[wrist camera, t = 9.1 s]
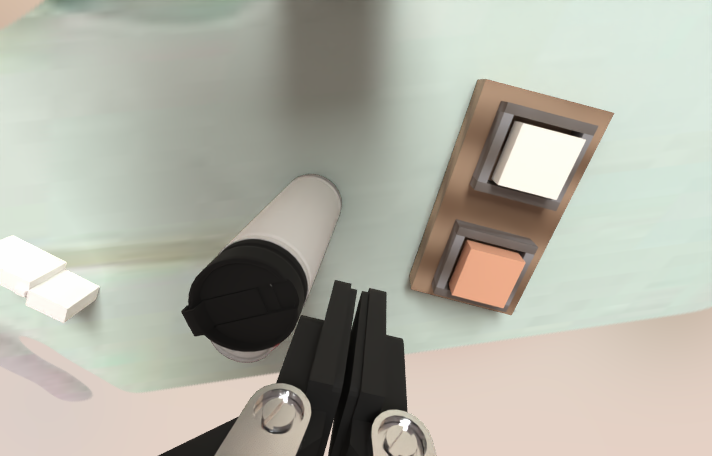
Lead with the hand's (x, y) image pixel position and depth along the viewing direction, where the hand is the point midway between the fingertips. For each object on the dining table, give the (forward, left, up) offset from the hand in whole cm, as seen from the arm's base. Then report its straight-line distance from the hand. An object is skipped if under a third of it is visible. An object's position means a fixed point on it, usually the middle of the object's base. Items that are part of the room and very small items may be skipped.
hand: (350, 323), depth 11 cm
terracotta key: (+7, +12, -22) cm, 26 cm away
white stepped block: (+24, -35, -27) cm, 50 cm away
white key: (-4, +12, -22) cm, 25 cm away
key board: (+1, +12, -26) cm, 29 cm away
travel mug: (+6, -6, -26) cm, 28 cm away
